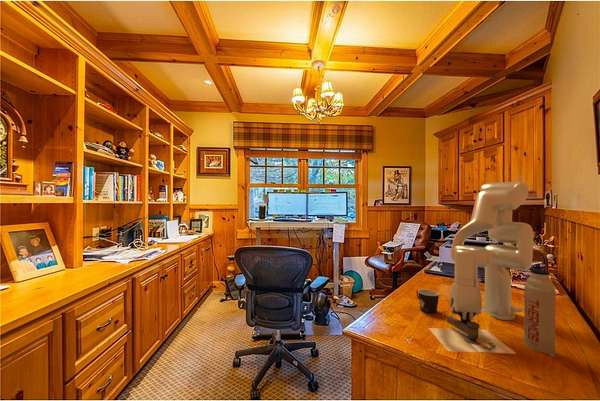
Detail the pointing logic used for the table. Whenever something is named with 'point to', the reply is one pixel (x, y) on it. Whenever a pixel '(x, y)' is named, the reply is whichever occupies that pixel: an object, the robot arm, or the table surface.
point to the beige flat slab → (469, 341)
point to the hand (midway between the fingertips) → (465, 328)
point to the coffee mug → (428, 300)
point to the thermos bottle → (539, 312)
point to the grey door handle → (467, 329)
